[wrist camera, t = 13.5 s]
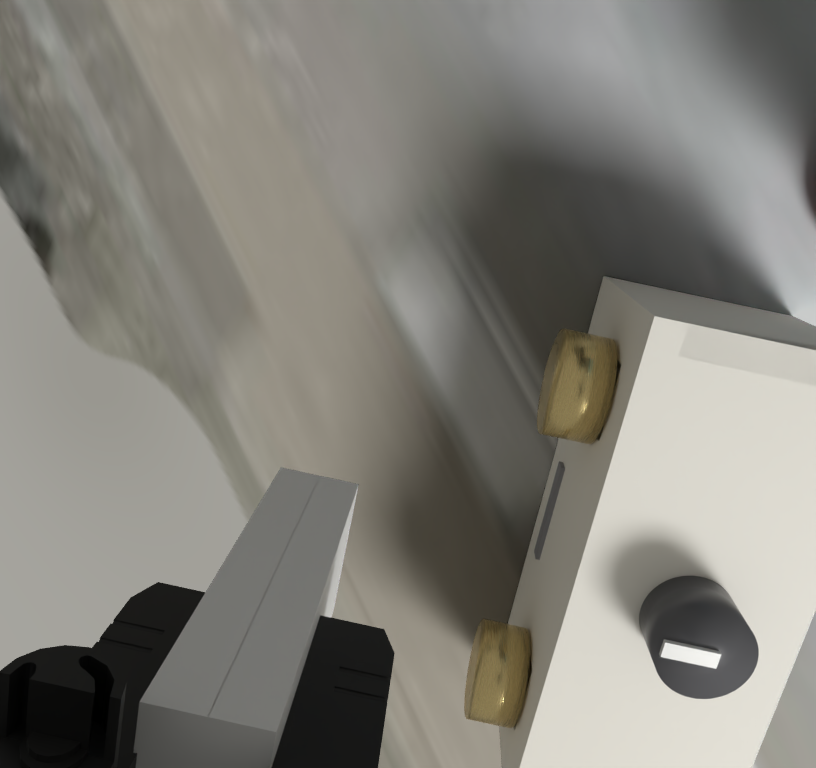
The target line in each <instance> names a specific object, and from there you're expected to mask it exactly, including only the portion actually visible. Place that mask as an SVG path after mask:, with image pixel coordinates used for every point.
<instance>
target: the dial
mask: <svg viewBox="0 0 816 768" xmlns="http://www.w3.org/2000/svg"><path fill="white" fill-rule="evenodd" d="M639 624H640V629H641V632H642V634H643V637H644V640H645V642H646V645H647V647H648V650H649V653H650V655H651V658H652V661H653V663H654V666H655V668H656V671H657V673H658V675H659V677H660V679H661V680H662V681H663V682H664V684H665V685H667V686H668V687H669V688H670V689H671V690H673V691H675V692H676V693H678V694H680V695H683V696H686V697H690V698H695V699H712V698H718V697H721V696H724V695H727V694H729V693H731V692H733V691H735V690H737V689H738V688H739V687H741V686H742V685H743V684H744V683H745V682H746V681H747V680H748V679H749V678H750V677H751V675H752V674H753V672H754V670H755V668H756V665H757V662H758V656H759V649H758V643H757V640H756V638H755V636H754V634H753V632H752V630H751V629H750V627H749V626H748V624H747V622H746V621H745V619H744V618H743V616H742V614H741V613H740V611H739V609H738V608H737V606H736V605H735V603H734V601H733V600H732V598H731V597H730V595H729V594H728V592H727V591H726V590H725V589H724V588H723V587H722V586H720V585H719V584H718V583H716V582H714V581H712V580H710V579H708V578H704V577H700V576H680V577H675V578H672V579H669V580H667V581H665V582H663V583H661V584H659V585H658V586H657V587H655V588H654V589H653V590H652V591H651V592H650V593H649V594H648V595H647V597H646V598H645V600H644V602H643V604H642V606H641V609H640V613H639Z"/></svg>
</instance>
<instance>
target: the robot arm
mask: <svg viewBox="0 0 816 768" xmlns="http://www.w3.org/2000/svg"><path fill="white" fill-rule="evenodd" d="M358 485H359V484H355V483H351V482H346V481H342V480H337V479H332V478H328V477H323V476H319V475H314V474H309V473H305V472H300V471H295V470H291V469H286V468H282V467H281V468H280V470H279V472H278V473H277V475H276V477H275V478H274V480H273V482H272V483H271V485H270V487H269V488H268V490H267V492H266V493H265V495H264V497H263V498H262V500H261V502H260V503H259V505H258V506H257V508H256V510H255V511H254V513H253V515H252V516H251V518H250V520H249V521H248V523H247V525H246V526H245V528H244V530H243V531H242V533H241V535H240V536H239V538H238V540H237V541H236V543H235V545H234V546H233V548H232V550H231V551H230V553H229V555H228V556H227V558H226V560H225V561H224V563H223V565H222V566H221V568H220V569H219V571H218V573H217V574H216V576H215V578H214V579H213V581H212V583H211V584H210V586H209V588H208V589H207V591H206V593H205V592H201V591H196V590H191V589H187V588H182V587H178V586H173V585H168V584H164V583H159V582H158V583H156V584H154V585H152V586H151V587H149V588H147V589H145V590H143V591H142V592H140V593H138V594H136V595H135V596H133V597H131V598H130V599H129V601H128V602H127V603H126V605H125V606H124V607H123V608H122V610H121V611H120V613H119V614H118V615H117V616H116V618H115V619H114V622H113V624H110V625H109V627H108V628H107V629H106V631H105V632H104V633H103V634H102V636H101V637H100V640H99V642H96V644H95V645H94V646H93V647H92V648H89V647H79V646H67V645H64V646H57V647H50V648H44V649H39V650H36V651H34V652H31V653H29V654H26V655H24V656H21V657H19V658H17V659H15V660H14V661H12V662H11V663H10V664H8V665H7V666H6V667H5V668H3V669H2V670H1V671H0V768H378V762H379V755H380V749H381V742H382V735H383V728H384V721H385V714H386V707H387V700H388V694H389V687H390V679H391V673H392V666H393V659H394V651H393V649H392V646H391V644H390V642H389V640H388V637H387V635H386V633H385V630H384V629H380V628H376V627H371V626H367V625H362V624H358V623H353V622H348V621H344V620H339V619H335V618H331V617H332V613H333V610H334V606H335V601H336V596H337V591H338V586H339V581H340V576H341V571H342V566H343V561H344V556H345V551H346V546H347V541H348V536H349V531H350V525H351V520H352V515H353V510H354V505H355V500H356V495H357V490H358Z"/></svg>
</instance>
